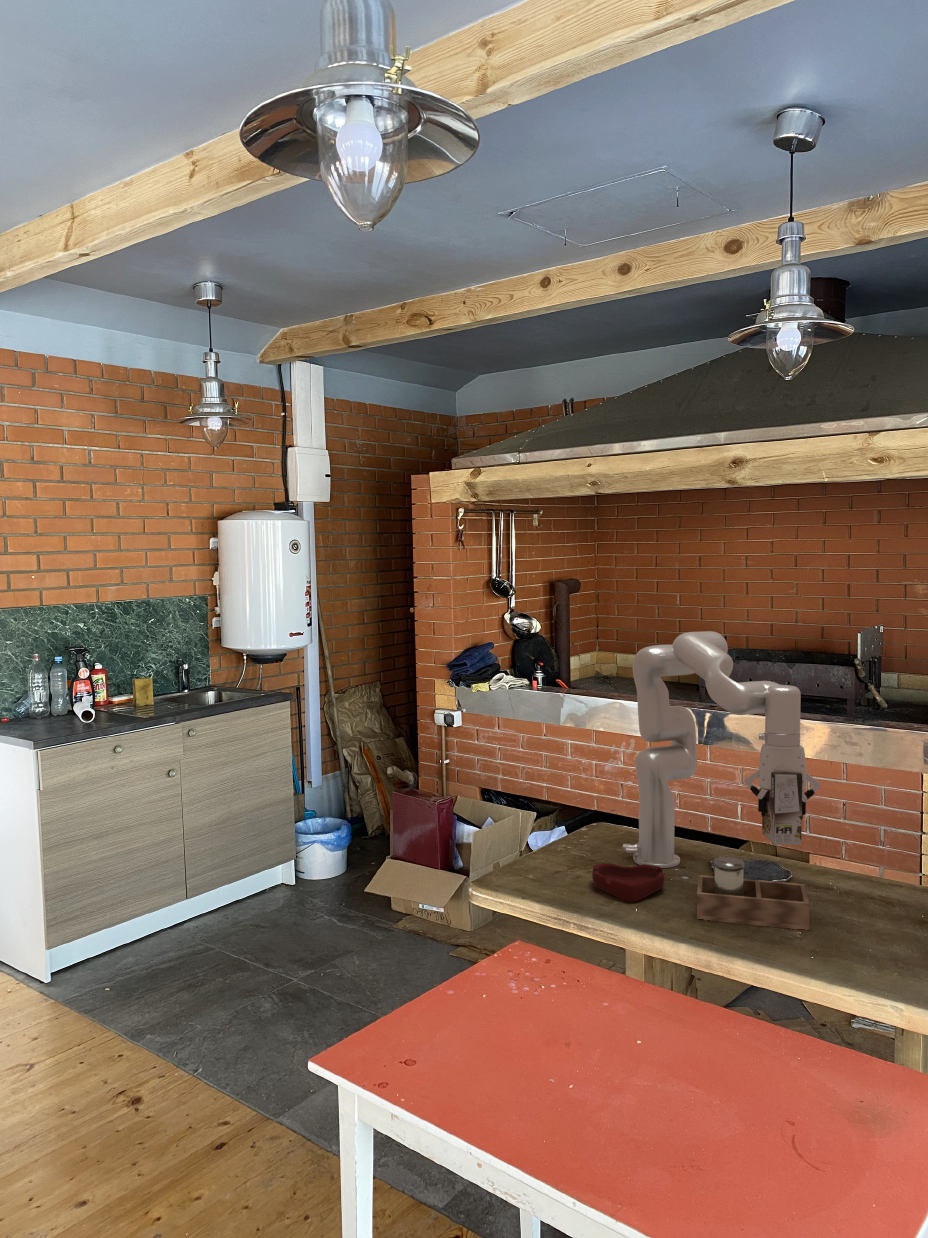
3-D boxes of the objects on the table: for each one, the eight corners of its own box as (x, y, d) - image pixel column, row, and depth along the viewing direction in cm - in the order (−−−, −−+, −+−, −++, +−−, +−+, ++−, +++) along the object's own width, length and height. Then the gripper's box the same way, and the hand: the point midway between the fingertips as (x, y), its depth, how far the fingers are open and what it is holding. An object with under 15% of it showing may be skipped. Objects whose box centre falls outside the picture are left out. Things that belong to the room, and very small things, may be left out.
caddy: (696, 919, 201) (696, 893, 201) (698, 899, 214) (698, 875, 213) (809, 930, 194) (809, 904, 194) (804, 909, 207) (804, 884, 206)
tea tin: (713, 912, 203) (713, 865, 203) (713, 901, 210) (714, 856, 209) (744, 915, 201) (744, 867, 201) (743, 904, 208) (744, 858, 207)
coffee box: (802, 845, 197) (803, 774, 196) (773, 845, 197) (774, 774, 196) (788, 833, 206) (789, 765, 205) (761, 833, 206) (761, 765, 205)
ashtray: (593, 904, 212) (593, 883, 212) (591, 881, 228) (591, 862, 228) (669, 907, 210) (669, 886, 210) (662, 883, 226) (662, 864, 226)
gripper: (742, 741, 199) (742, 818, 200) (825, 744, 194) (824, 823, 195) (742, 735, 206) (741, 809, 207) (821, 738, 201) (820, 815, 202)
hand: (781, 816), depth 201 cm, fingers closed on coffee box, 7 cm apart
